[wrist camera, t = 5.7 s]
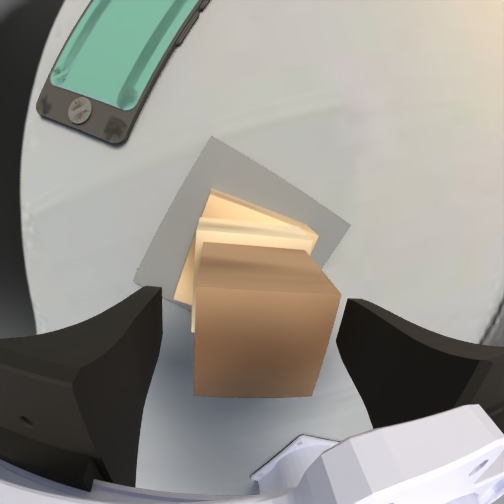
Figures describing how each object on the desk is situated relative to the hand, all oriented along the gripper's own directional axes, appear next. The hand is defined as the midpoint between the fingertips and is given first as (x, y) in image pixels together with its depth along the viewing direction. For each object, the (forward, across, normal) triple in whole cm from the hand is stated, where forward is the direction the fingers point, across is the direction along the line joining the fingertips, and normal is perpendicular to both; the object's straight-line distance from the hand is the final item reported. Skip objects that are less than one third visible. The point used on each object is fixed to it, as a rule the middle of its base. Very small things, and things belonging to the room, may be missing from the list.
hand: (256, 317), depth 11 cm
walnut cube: (+2, 0, 0) cm, 3 cm away
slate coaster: (+8, 0, 0) cm, 8 cm away
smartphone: (+9, +8, -14) cm, 18 cm away
